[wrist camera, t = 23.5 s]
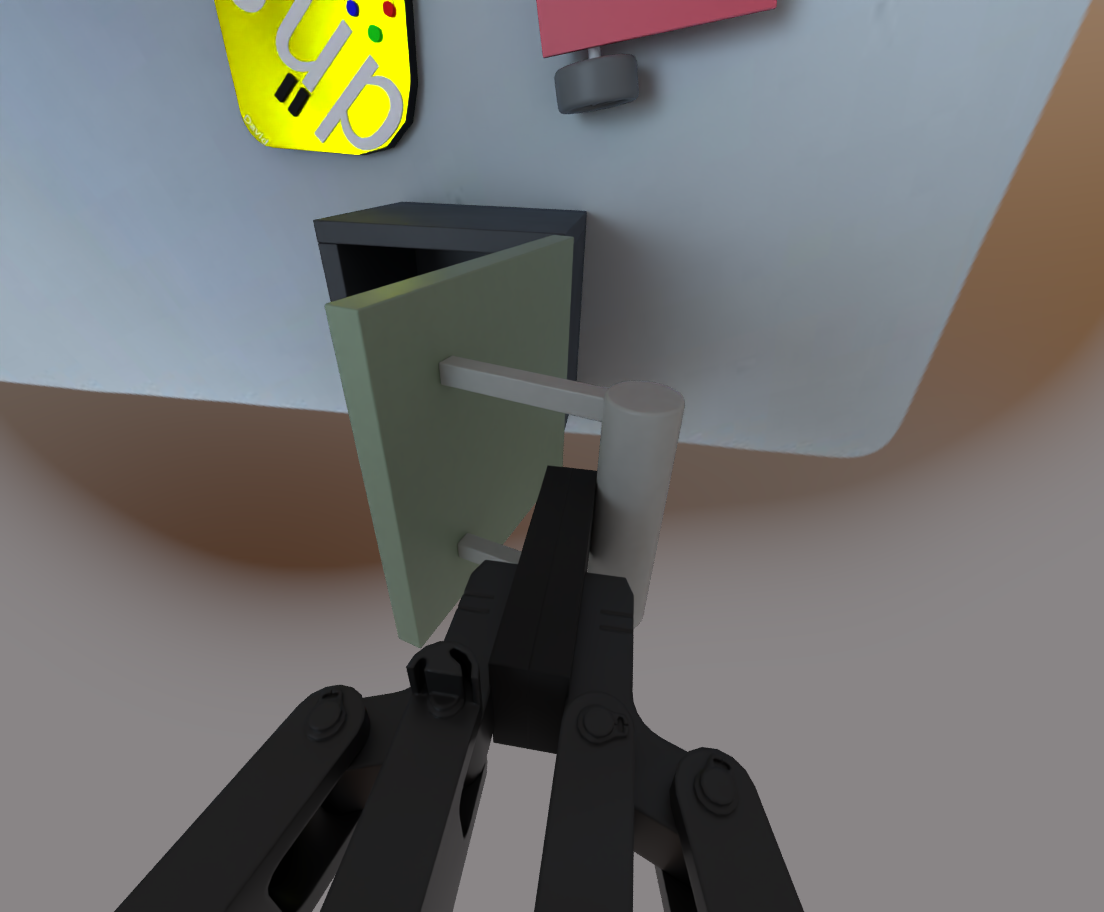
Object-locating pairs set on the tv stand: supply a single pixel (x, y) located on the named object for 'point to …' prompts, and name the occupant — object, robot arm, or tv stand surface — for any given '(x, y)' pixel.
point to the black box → (439, 246)
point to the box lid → (489, 426)
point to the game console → (322, 71)
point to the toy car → (614, 16)
